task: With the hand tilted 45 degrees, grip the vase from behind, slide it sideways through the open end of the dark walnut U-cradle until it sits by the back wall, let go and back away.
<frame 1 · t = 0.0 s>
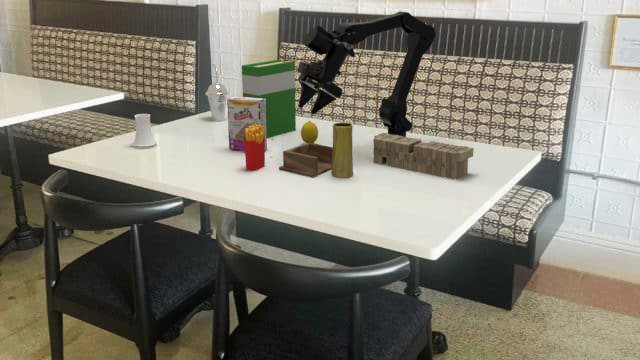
hand: (305, 110, 189), 15 cm above the table, tool tilted 35°, fingers open, 9 cm apart
block tower: (418, 169, 186), on the table
cradle: (313, 168, 186), on the table
lemon: (309, 145, 209), on the table
french fries: (255, 167, 187), on the table
vase: (342, 175, 180), on the table
candy bar box: (248, 150, 204), on the table
vase 2: (145, 146, 209), on the table
hardback book: (270, 134, 224), on the table
cup with straw: (218, 120, 243), on the table
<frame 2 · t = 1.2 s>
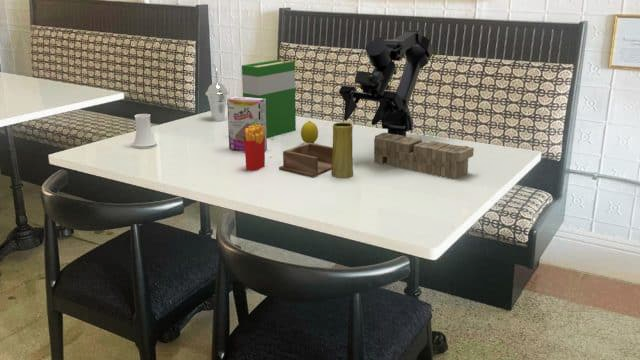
hand: (358, 122, 182), 13 cm above the table, tool tilted 45°, fingers open, 9 cm apart
nothing on the table moved.
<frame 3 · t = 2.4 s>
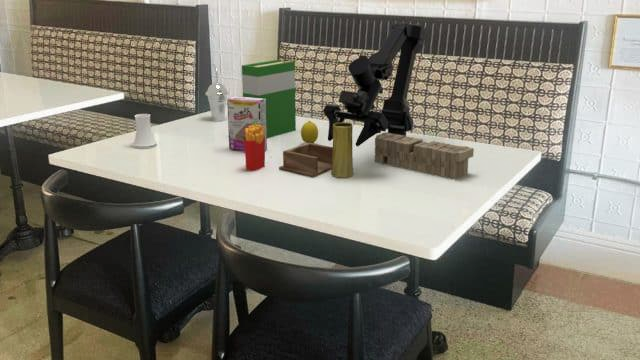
hand: (342, 142, 177), 9 cm above the table, tool tilted 45°, fingers open, 9 cm apart
nothing on the table moved.
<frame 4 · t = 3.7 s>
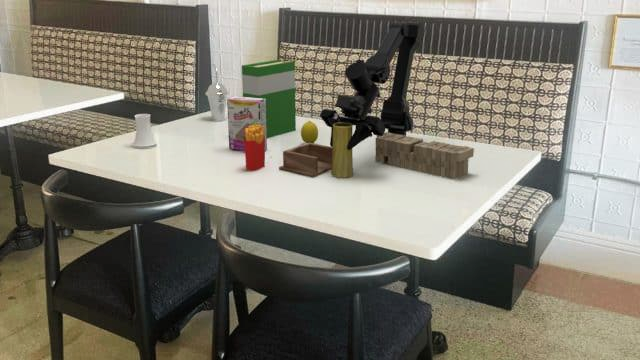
hand: (339, 147, 176), 8 cm above the table, tool tilted 45°, fingers closed on vase, 5 cm apart
vase: (342, 175, 180), on the table, touching gripper
everything else where it was.
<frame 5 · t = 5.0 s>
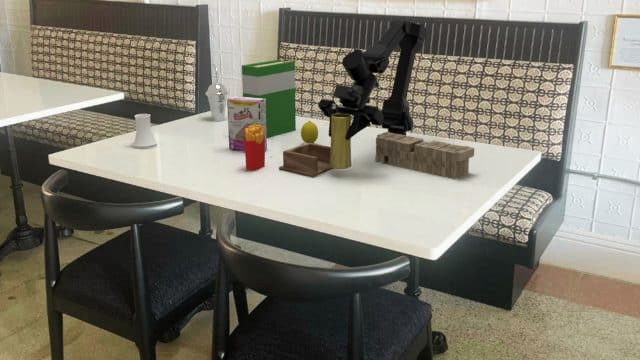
hand: (338, 137, 176), 11 cm above the table, tool tilted 45°, fingers closed on vase, 5 cm apart
vase: (340, 166, 180), point 2 cm above the table, touching gripper
everything else where it was.
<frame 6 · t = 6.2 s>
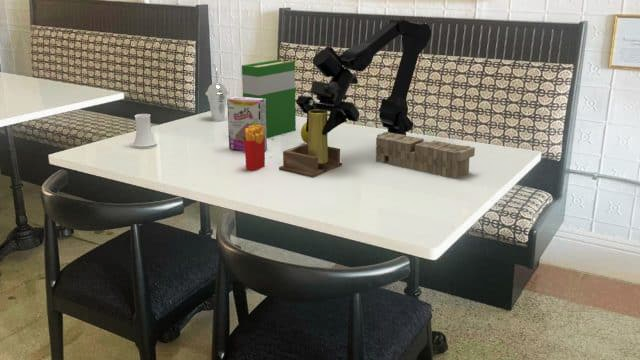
hand: (314, 133, 180), 11 cm above the table, tool tilted 45°, fingers closed on vase, 5 cm apart
vase: (317, 161, 184), point 2 cm above the table, touching gripper
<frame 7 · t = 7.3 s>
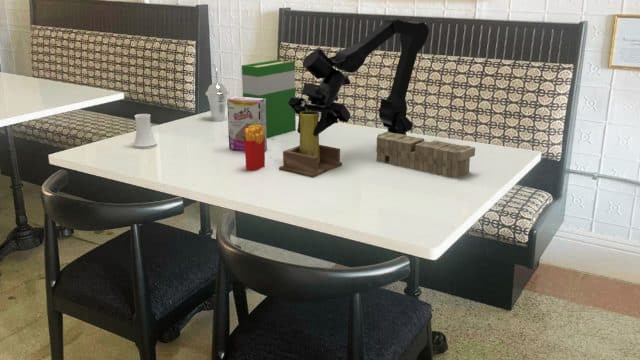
hand: (306, 133, 182), 10 cm above the table, tool tilted 45°, fingers closed on vase, 5 cm apart
vase: (309, 162, 186), point 1 cm above the table, touching gripper
when the fingers open (10 cm above the table, at t = 8.0 s): vase stays where it is, resting on cradle.
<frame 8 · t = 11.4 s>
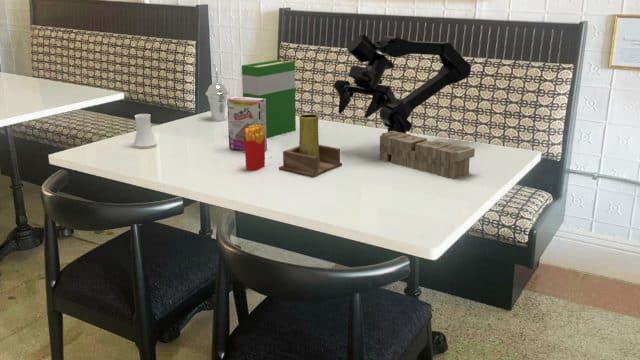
hand: (352, 114, 189), 14 cm above the table, tool tilted 45°, fingers open, 9 cm apart
vase: (309, 165, 186), point 1 cm above the table, touching cradle
at the end: vase 0.5 cm from the target spot on the cradle, point 0.6 cm above the cradle's base; vase tilted 0°; the gripper is holding nothing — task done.
